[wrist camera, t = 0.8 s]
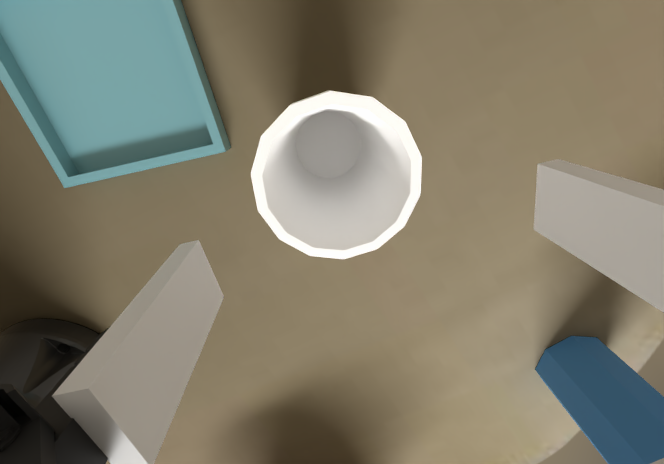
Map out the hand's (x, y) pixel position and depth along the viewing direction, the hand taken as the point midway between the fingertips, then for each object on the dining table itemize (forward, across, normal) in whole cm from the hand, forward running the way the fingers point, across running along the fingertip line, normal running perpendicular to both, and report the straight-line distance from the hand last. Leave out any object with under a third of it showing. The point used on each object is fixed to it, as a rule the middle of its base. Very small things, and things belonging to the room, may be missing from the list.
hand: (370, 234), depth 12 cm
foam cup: (+19, -1, 0) cm, 19 cm away
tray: (+19, -17, +10) cm, 27 cm away
